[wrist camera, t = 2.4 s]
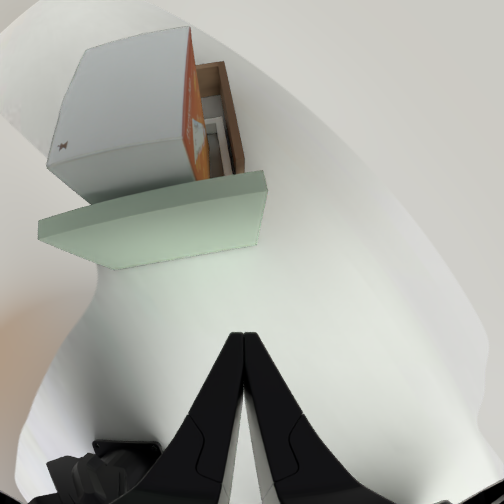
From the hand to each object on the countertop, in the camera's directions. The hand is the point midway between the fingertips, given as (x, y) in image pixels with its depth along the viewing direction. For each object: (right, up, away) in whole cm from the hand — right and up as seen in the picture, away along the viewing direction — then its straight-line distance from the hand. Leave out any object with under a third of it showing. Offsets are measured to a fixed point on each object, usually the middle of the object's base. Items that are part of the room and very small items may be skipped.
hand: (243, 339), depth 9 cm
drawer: (-6, +8, +14) cm, 17 cm away
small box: (-6, +8, +14) cm, 17 cm away
